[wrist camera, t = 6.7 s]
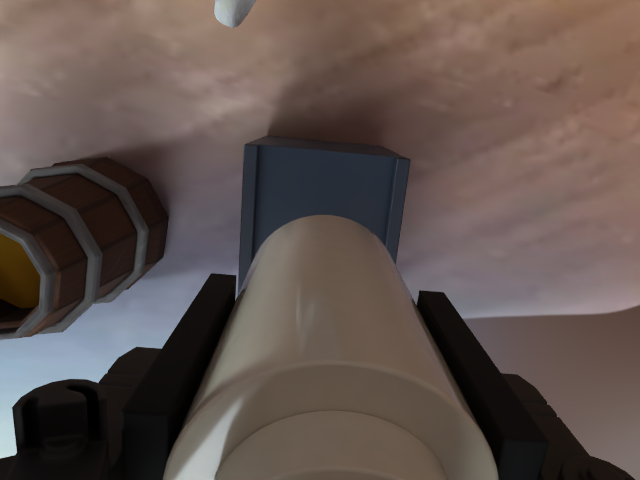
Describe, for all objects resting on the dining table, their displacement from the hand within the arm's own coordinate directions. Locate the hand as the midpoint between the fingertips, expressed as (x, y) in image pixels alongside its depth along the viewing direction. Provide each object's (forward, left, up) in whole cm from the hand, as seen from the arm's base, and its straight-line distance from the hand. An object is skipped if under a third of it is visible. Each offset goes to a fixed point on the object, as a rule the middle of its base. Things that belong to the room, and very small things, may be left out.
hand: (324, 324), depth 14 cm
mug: (+6, -21, -27) cm, 34 cm away
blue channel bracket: (+4, 0, -27) cm, 27 cm away
